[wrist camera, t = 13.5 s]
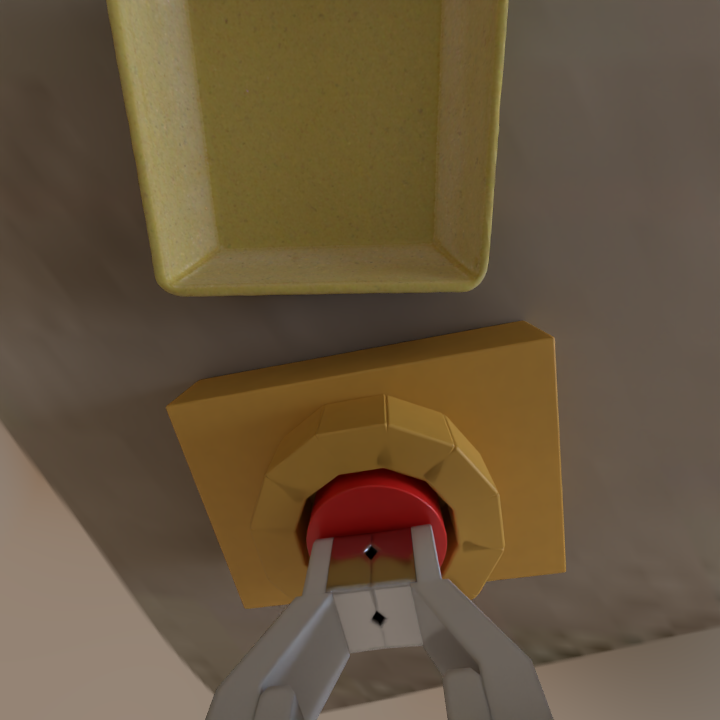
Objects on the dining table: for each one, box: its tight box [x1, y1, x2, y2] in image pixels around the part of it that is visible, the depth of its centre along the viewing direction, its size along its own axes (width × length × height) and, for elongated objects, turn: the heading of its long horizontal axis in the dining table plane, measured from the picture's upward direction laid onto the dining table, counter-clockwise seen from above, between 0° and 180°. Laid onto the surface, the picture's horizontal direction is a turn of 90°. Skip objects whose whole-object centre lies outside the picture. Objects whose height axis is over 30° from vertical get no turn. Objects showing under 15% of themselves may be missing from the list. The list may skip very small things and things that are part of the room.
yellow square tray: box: [106, 0, 508, 297], centre depth 9 cm, size 9×9×2 cm
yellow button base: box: [166, 321, 566, 609], centre depth 12 cm, size 11×8×4 cm
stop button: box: [306, 468, 447, 567], centre depth 10 cm, size 4×4×2 cm
